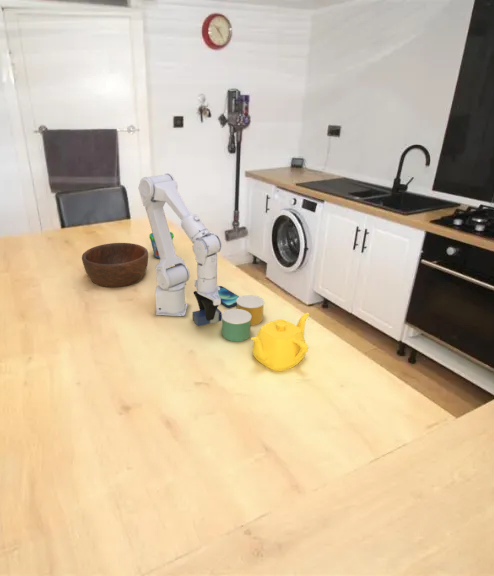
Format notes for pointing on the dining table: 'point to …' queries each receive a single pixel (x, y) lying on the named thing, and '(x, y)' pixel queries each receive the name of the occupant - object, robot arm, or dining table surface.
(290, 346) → the teapot
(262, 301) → the ochre yogurt pot
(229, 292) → the smartphone
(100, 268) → the wooden bowl
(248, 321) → the yogurt pot
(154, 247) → the snack cup
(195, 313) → the block
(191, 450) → the dining table surface
